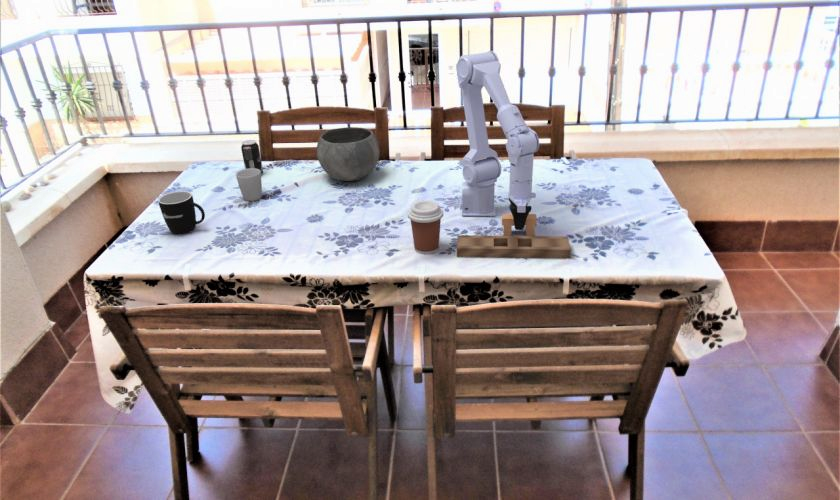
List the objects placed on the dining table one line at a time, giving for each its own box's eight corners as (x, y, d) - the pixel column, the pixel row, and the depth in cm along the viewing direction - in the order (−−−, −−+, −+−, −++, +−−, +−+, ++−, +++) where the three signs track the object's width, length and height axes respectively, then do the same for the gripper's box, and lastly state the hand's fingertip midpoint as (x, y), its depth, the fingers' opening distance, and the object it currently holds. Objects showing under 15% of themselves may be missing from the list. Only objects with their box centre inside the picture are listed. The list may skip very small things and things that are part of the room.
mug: (160, 236, 167) (151, 203, 162) (176, 222, 175) (168, 190, 170) (200, 238, 166) (192, 204, 161) (215, 223, 173) (207, 191, 169)
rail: (456, 256, 151) (456, 248, 149) (457, 243, 157) (457, 235, 155) (570, 258, 148) (570, 249, 146) (566, 245, 154) (567, 236, 153)
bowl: (307, 182, 199) (301, 138, 192) (347, 162, 214) (343, 121, 207) (353, 194, 189) (349, 148, 181) (393, 173, 203) (390, 130, 196)
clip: (501, 235, 160) (502, 218, 157) (501, 230, 162) (501, 213, 160) (535, 236, 159) (536, 219, 157) (535, 230, 162) (536, 214, 159)
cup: (236, 202, 186) (231, 177, 182) (248, 190, 195) (243, 165, 191) (260, 202, 185) (255, 177, 181) (270, 190, 194) (266, 165, 190)
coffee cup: (441, 257, 151) (440, 214, 145) (406, 255, 152) (403, 213, 146) (446, 240, 158) (445, 199, 153) (412, 239, 160) (410, 198, 154)
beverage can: (258, 171, 210) (252, 138, 204) (266, 175, 206) (260, 141, 200) (243, 175, 207) (237, 142, 201) (251, 179, 203) (245, 145, 197)
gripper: (539, 189, 146) (536, 238, 153) (534, 168, 159) (532, 214, 166) (509, 189, 147) (508, 238, 154) (508, 168, 160) (506, 214, 166)
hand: (518, 225), depth 160 cm, fingers open, 4 cm apart
